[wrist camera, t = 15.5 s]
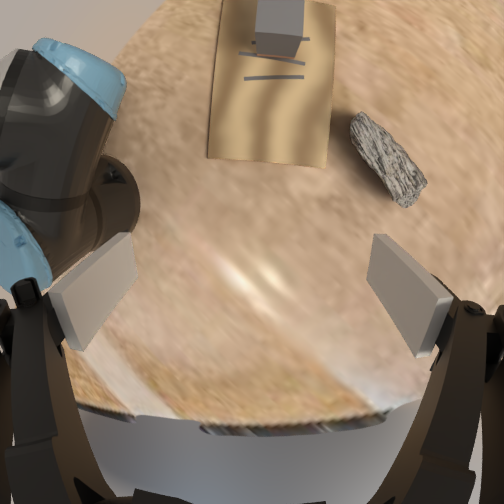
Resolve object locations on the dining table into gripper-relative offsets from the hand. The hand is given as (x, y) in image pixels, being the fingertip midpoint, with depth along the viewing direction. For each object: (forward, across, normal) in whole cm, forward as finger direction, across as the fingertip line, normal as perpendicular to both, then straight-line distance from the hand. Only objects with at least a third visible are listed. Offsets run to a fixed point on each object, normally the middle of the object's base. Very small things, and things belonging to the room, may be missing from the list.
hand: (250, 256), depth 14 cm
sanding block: (+25, +3, +23) cm, 34 cm away
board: (+26, +2, +16) cm, 30 cm away
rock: (+26, +18, +5) cm, 32 cm away
